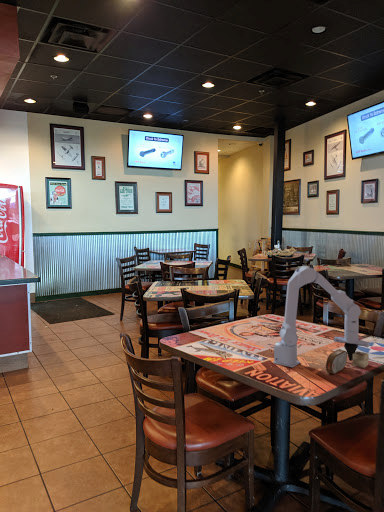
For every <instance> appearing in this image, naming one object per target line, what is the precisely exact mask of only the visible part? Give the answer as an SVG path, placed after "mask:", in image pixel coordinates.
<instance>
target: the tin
mask: <svg viewBox="0 0 384 512" xmlns="http://www.w3.org/2000/svg"><path fill="white" fill-rule="evenodd" d="M347 360H348V354H347V351H346V350H344V349H341V348H338V349H336V350H334V351H332V352H331V353H329V355H328V356H327V359H326V362H325V370H326V372H327V373H328V374H331V375H336V374H338V373H339V372H341V371H343V370H344V369H345V368H346V365H347V362H348V361H347Z"/></svg>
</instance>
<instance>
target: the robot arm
mask: <svg viewBox="0 0 384 512" xmlns="http://www.w3.org/2000/svg"><path fill="white" fill-rule="evenodd" d="M310 283H314V284H318V285H319V286H320V287H321V288H322V289H324V290H325V292H327V293H328V294H329V295H330V299H331V301H332V302H333V303H335V305H337V306H338V308H340V309H341V310H342V312H343V313H344V331H343V332H344V335H343V336H344V337H343V336H334V337H333V342H335V343H343V344H344V345H343V348H344V349H345V351H346V352H347V358H348V361H350V362H351V361H352V362H353V354H354V353H355V352H356V351H357V349H358V347H359V346H360V347H363V348H364V347H365V348H369V347H370V342H369V341H365V340H363V339H359V328H360V327H359V323H360V322H359V317H360V315H361V313H362V310H361V308H360V306H359V305H358V304H356V303H354V300H353V299H351V298H350V297H349V296H348V295H347V292H346V291H344V290H341V289H339V290H338V289H336V288H335V287H334V286H333V285H332V284H331V283H330V282H329V280H327V279H326V278H325V276H323V275H322V274H321V273H319V272H318V271H316V269H315V268H314V267H313V268H312V267H309V265H302V266H299V267H298V268H296V269H295V270H294V273H293V274H292V276H291V277H290V278H289V279H288V281H287V288H286V298H285V306H284V307H285V308H284V309H285V310H284V318H283V322H282V324H281V329H280V330H279V337H280V338H281V339H280V341H277V342H276V343H274V344H275V345H274V347H273V357H274V358H273V364H277V365H281V366H283V367H289V368H294V367H296V366H298V365H299V364H301V360H298V340H299V337H298V333H297V315H298V314H297V313H298V303H299V295H300V294H299V291H300V288H301V287H303V286H305V285H306V284H310Z"/></svg>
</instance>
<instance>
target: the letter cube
mask: <svg viewBox="0 0 384 512" xmlns="http://www.w3.org/2000/svg"><path fill="white" fill-rule="evenodd" d="M369 355H370V354H369V353H368V352H363V351H359V350H356V351H355V353H354V354H353V360H352V366H354V367H359V368H363V369H365V368H366V367H368V365H369Z"/></svg>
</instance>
